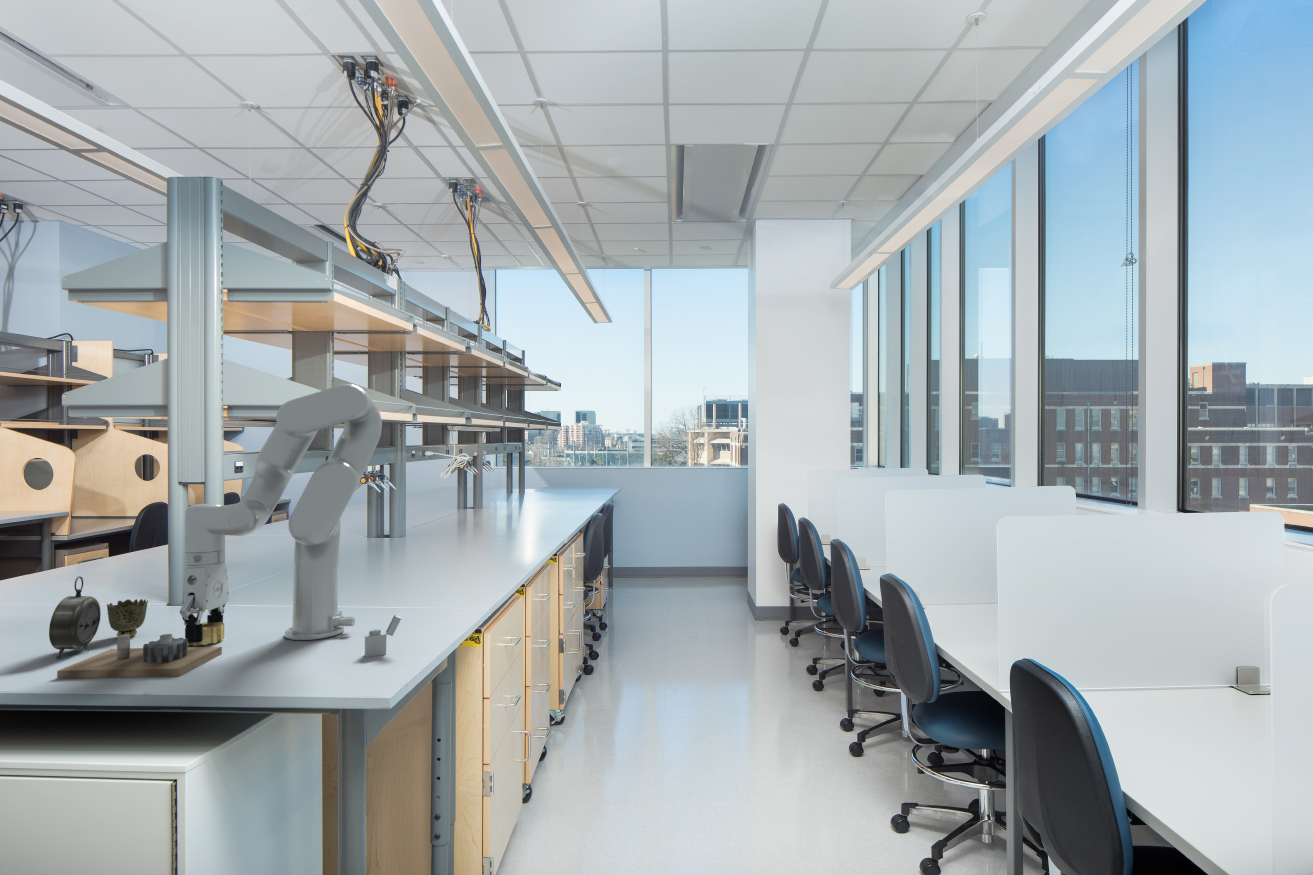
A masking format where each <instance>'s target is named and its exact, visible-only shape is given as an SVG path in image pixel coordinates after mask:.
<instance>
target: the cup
mask: <svg viewBox="0 0 1313 875" xmlns="http://www.w3.org/2000/svg"><path fill="white" fill-rule="evenodd" d="M148 602H149V601H148V599H147V600H146V599H142V598H141V599H139V600H138V599H137V598H136V599H134V600H133V601H132V600H131V599H126V600H124V601H122V600H117V604H113V603H112V602H110V603H109V604H108V603H107V604H106V608H107V616H108V623H109V626H110V628H111V629H112V630H113V631H116V632H117V633H116V636H117V637H118V636H120V635H130V638H132V637H133V638H134V636H136V635H137V633H138V630H137V629H139V628H140V627H141V626H142V625H143V624H144V622H145V620H146V614H147V608H148Z"/></svg>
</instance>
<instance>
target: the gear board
mask: <svg viewBox="0 0 1313 875" xmlns="http://www.w3.org/2000/svg"><path fill="white" fill-rule="evenodd" d="M116 642H117V644H116V645H117V647H116V648H110V649H108V650H106V651H103V652H100V653H97V654H95V655H92V656H90V657H88V658H85V659H83V660H81V661H78V662H76V663H73V664H71V665H67V666H65V667H63V668H61V669H59V670H58V669H57V671H56V673H57V674H56V679H59V680H64V679H100V678H101V679H103V678H104V679H106V678H107V679H108V678H144V677H145V678H147V677H148V678H149V677H150V678H154V677H158V678H159V677H182V676H183V675H185V674H188V672H190V671H192V670H195V669H196V668H198V667H200V666H201V665H203V664H206V663H208V662H209V661H211V660H213V659H215V658H216V657H219V656H220V655H222V653H223V652H222V651H223V647H222V646H193V647H190V646H188V639H185V638H184V637H178V638H175V637H173V634H172V633H163V634H161V635H159V639H158V640H155V641H153V640H152V641H149V642H148V643H144V644H143V646H142V647H140V648H138V647H136V648H135V647H134V648H132V647H131V637H130V635H120V636H117V640H116Z"/></svg>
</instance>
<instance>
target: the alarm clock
mask: <svg viewBox="0 0 1313 875" xmlns="http://www.w3.org/2000/svg"><path fill="white" fill-rule="evenodd" d="M79 579H80V581H81V586H80V588H77V582H78V580H79ZM83 589H84V579H83V577H82V576H81V575H78V576H77V577H76V578H75V581H74V591H75V595H68V596H66V597H64V598H63V599H61V600H60V601H59V603H58V604H57V606H55V608H54V611H53V614H52V616H51V619H50V623H49V627H48V628H49V629H48V638H49V642H50V644H51V646H52V647H53V648H54V649H56V650H59V652H58V655H57V656H56V659H61V658H62V655H63V653H64V652H65V650H80V649H83V648H84V649H85V650H86V651H87V652H90V649H89V647H88V644H90V642H91V641H92V640H93V639H94V637H95V636H96V634H97V633H98V632H97V631H98V630H99V626H100V622H101V606H100V603H99V600H97V599H96V597H93V596H90V595H87V596H86V595H82V591H83Z"/></svg>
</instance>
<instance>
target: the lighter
mask: <svg viewBox="0 0 1313 875" xmlns="http://www.w3.org/2000/svg"><path fill="white" fill-rule="evenodd" d="M401 620H402V616H400V615H397V614H394V615H393V617H392V618H391V621H390V623H389V625H388V626H387V629H386V630H385V632H382V630H381V628H377V629H371V630H369V631H368V634H364V657H365V658H368V657H376V656H377V657H378V656H384V655H385V656H386V655H387V635H388V636H391V637H393V636H394V634H395V632H396V630H397V628H398V626H399V624H400V621H401Z"/></svg>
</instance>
